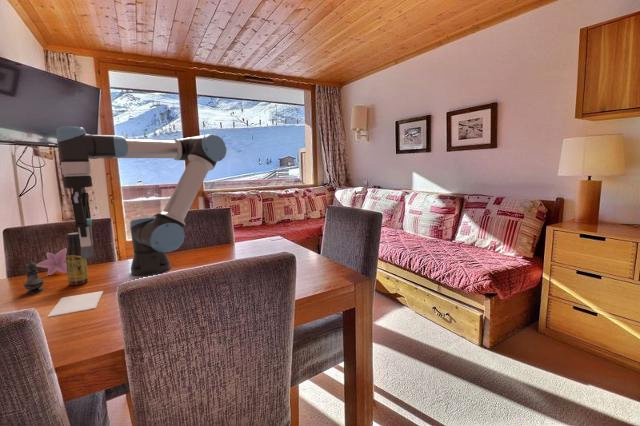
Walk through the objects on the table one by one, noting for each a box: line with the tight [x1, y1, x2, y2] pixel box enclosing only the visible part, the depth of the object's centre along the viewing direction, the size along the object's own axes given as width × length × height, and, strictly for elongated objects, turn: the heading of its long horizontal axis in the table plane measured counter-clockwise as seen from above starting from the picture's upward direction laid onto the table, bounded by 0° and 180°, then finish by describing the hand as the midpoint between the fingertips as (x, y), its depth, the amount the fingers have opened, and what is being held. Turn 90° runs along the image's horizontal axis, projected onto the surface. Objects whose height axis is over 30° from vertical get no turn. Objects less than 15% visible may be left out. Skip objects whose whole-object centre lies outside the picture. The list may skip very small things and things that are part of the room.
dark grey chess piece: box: [22, 259, 46, 295], centre depth 117 cm, size 6×6×12 cm
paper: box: [46, 290, 104, 318], centre depth 106 cm, size 12×16×1 cm
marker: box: [81, 218, 94, 259], centre depth 108 cm, size 3×3×13 cm
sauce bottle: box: [66, 232, 89, 286], centre depth 124 cm, size 6×6×20 cm
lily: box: [36, 247, 68, 277], centre depth 140 cm, size 12×12×10 cm
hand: (87, 245), depth 109 cm, fingers closed on marker, 3 cm apart
